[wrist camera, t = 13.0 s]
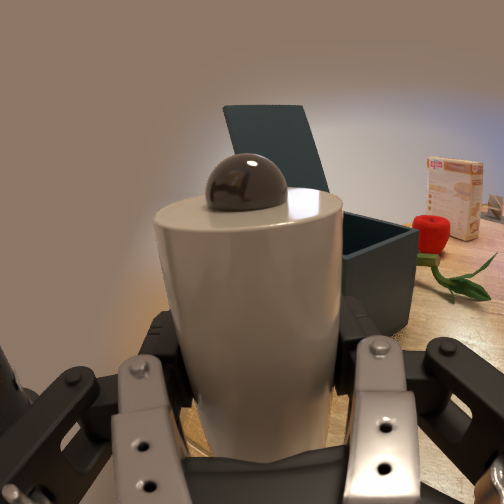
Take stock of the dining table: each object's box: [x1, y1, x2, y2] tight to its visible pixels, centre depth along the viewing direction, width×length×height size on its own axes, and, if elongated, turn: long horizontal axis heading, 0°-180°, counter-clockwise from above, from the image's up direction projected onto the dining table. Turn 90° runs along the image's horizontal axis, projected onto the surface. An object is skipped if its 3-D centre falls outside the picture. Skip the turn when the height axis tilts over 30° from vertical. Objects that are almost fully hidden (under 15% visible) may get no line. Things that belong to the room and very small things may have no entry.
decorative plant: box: [416, 252, 498, 304], centre depth 49 cm, size 6×8×30 cm
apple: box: [412, 215, 450, 254], centre depth 60 cm, size 9×9×8 cm
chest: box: [341, 211, 420, 337], centre depth 39 cm, size 16×14×13 cm
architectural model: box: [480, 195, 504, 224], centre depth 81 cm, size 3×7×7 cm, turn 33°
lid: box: [223, 105, 330, 193], centre depth 43 cm, size 16×14×1 cm
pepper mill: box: [153, 153, 343, 463], centre depth 9 cm, size 5×5×12 cm
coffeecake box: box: [426, 157, 483, 241], centre depth 68 cm, size 15×7×20 cm, turn 20°
